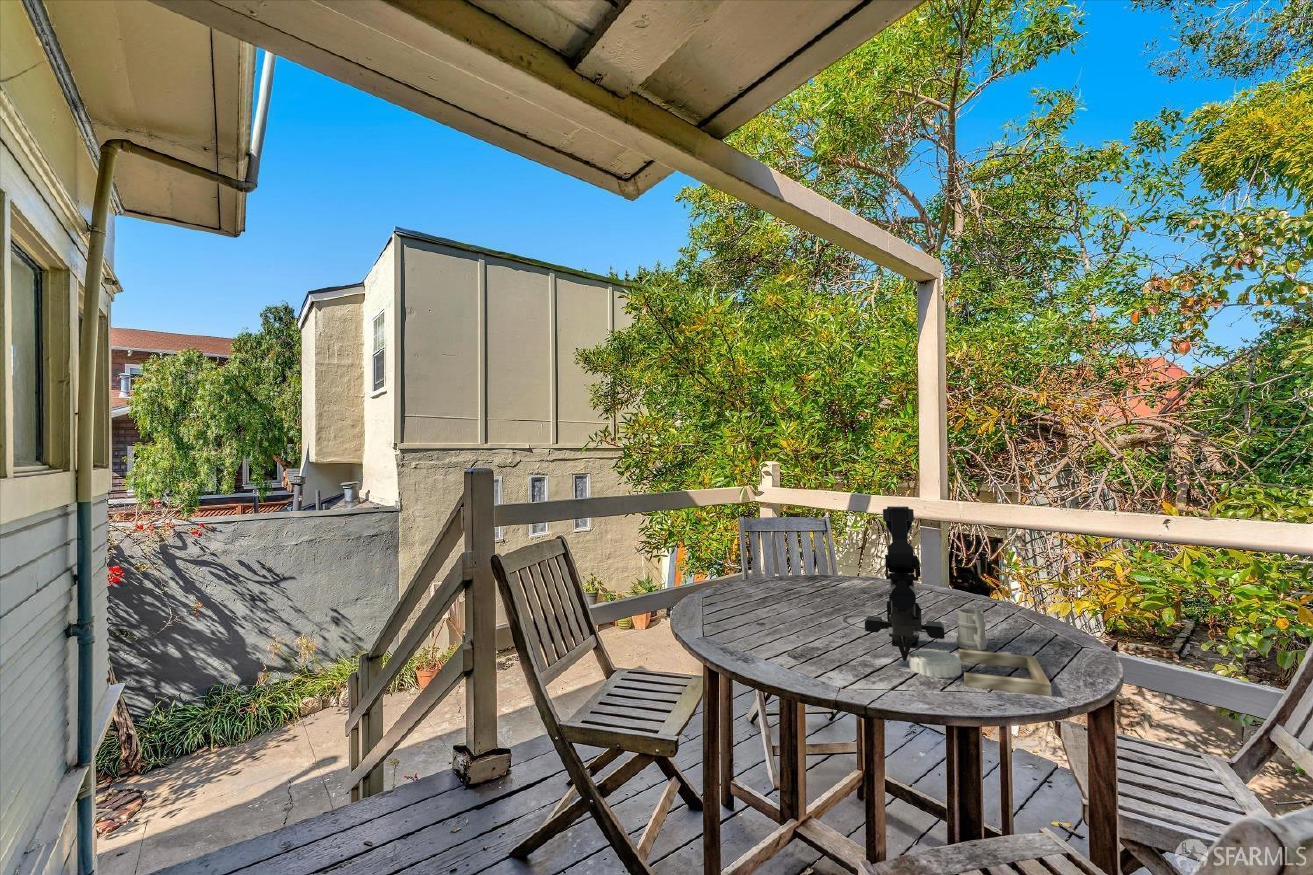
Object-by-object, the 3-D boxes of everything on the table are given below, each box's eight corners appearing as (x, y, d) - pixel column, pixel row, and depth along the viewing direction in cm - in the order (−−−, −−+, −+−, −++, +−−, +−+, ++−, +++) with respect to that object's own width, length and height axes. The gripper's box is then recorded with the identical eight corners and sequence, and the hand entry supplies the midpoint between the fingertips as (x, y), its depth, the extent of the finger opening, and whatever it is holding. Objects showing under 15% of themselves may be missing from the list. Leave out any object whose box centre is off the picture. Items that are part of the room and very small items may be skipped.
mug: (981, 642, 164) (979, 599, 165) (999, 656, 153) (996, 611, 153) (952, 641, 166) (950, 599, 166) (968, 656, 154) (966, 611, 154)
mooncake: (946, 660, 152) (945, 646, 152) (971, 677, 140) (971, 662, 140) (901, 662, 152) (900, 648, 152) (922, 679, 140) (921, 664, 140)
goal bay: (965, 685, 135) (964, 675, 135) (959, 658, 152) (958, 649, 152) (1051, 696, 128) (1051, 684, 128) (1035, 666, 145) (1034, 656, 146)
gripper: (861, 604, 146) (863, 666, 146) (944, 610, 138) (946, 676, 138) (865, 593, 156) (867, 652, 156) (942, 599, 148) (944, 660, 148)
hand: (905, 660), depth 149 cm, fingers closed
